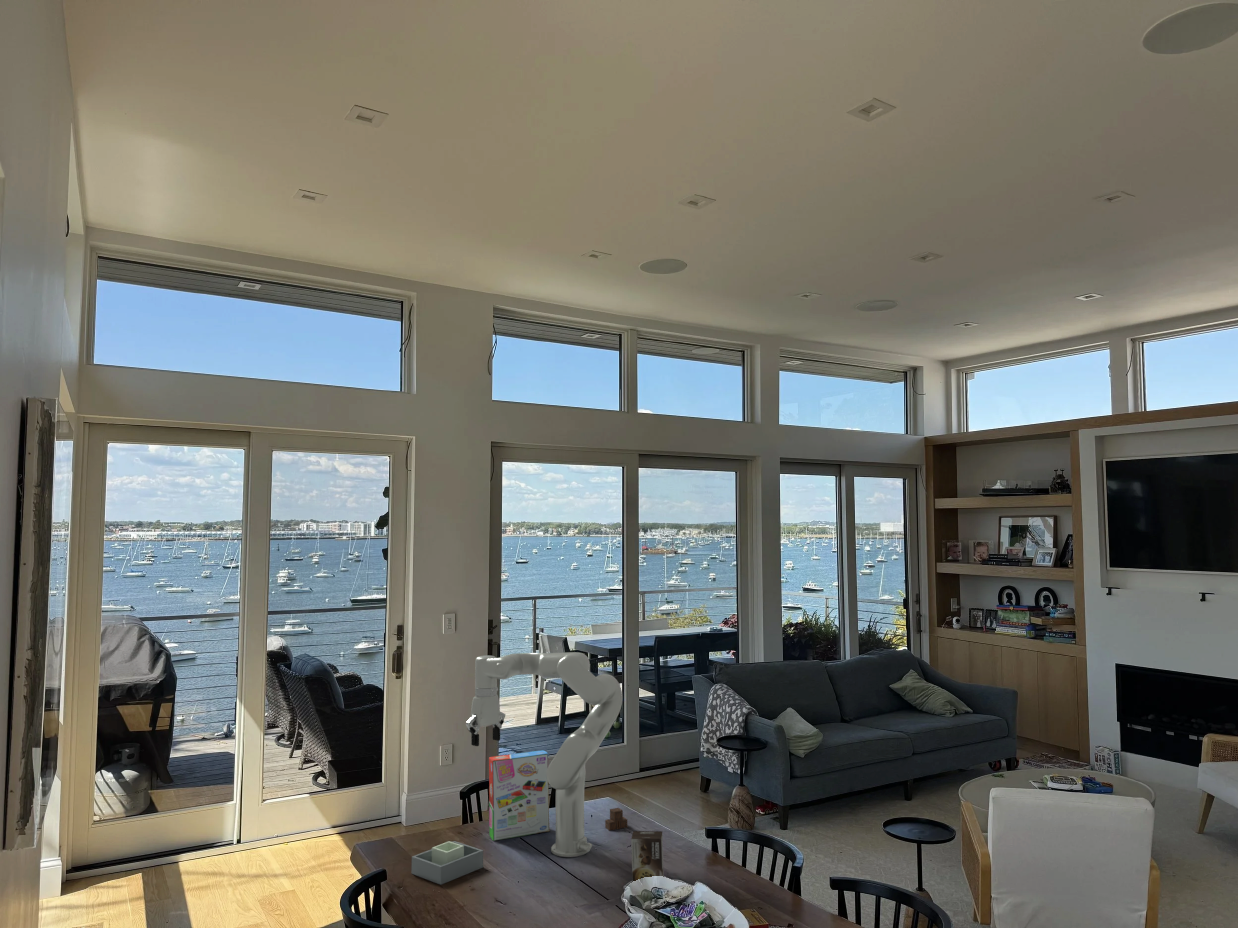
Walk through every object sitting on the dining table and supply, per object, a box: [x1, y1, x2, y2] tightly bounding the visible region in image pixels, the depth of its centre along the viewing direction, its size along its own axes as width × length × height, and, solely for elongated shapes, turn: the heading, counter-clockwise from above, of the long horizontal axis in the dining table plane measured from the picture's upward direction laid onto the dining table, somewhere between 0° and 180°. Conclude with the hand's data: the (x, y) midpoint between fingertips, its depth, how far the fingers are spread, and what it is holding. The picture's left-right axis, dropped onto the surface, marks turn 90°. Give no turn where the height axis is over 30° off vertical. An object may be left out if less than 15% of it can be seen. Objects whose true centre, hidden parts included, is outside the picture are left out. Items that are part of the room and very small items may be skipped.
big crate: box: [411, 840, 484, 886], centre depth 263 cm, size 14×17×6 cm
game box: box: [488, 749, 550, 842], centre depth 296 cm, size 21×6×27 cm, turn 114°
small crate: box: [431, 840, 464, 865], centre depth 263 cm, size 7×7×6 cm
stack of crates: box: [604, 807, 628, 832], centre depth 299 cm, size 15×15×7 cm
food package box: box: [630, 830, 665, 882], centre depth 246 cm, size 9×6×16 cm
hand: (485, 742), depth 290 cm, fingers open, 9 cm apart
